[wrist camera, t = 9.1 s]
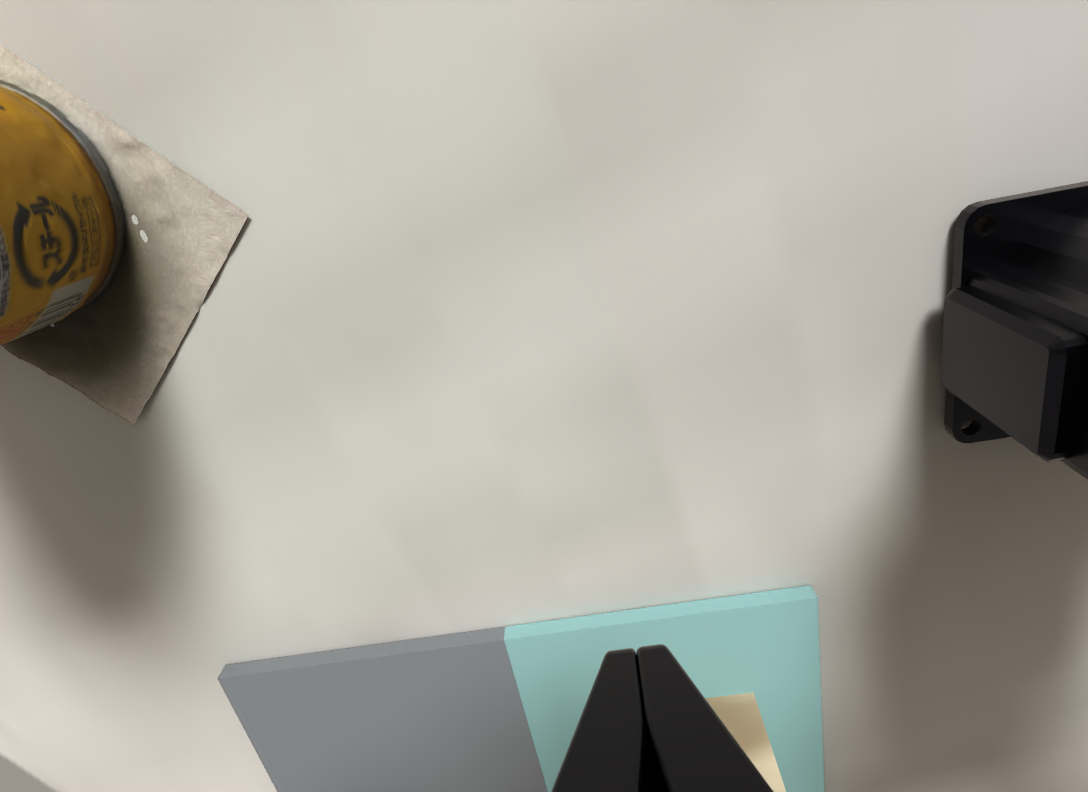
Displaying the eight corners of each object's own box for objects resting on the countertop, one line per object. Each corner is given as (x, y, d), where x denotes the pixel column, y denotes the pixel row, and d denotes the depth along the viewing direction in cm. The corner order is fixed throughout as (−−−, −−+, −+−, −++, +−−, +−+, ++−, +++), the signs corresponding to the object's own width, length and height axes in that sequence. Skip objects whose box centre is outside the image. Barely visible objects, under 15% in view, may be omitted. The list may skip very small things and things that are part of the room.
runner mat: (811, 585, 21) (817, 598, 20) (820, 826, 26) (826, 842, 25) (225, 664, 23) (217, 678, 22) (334, 875, 28) (330, 890, 27)
